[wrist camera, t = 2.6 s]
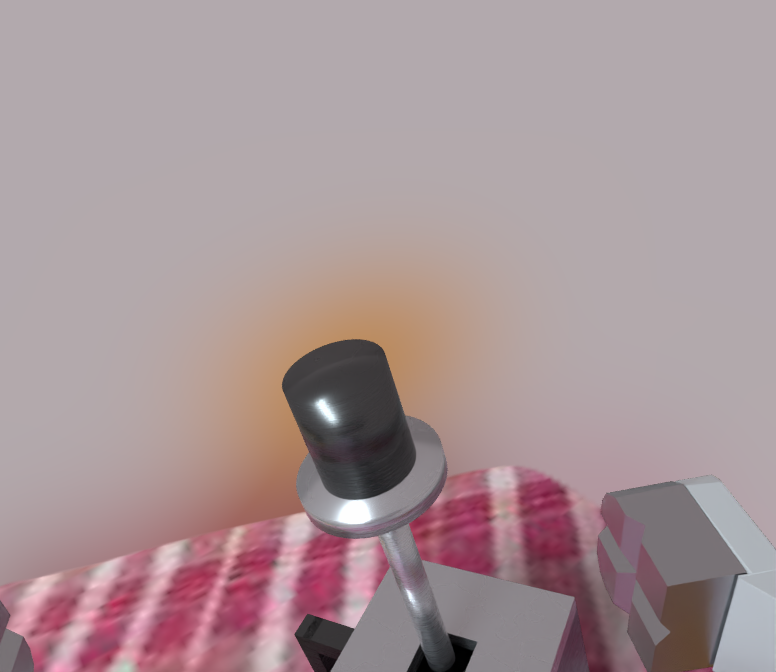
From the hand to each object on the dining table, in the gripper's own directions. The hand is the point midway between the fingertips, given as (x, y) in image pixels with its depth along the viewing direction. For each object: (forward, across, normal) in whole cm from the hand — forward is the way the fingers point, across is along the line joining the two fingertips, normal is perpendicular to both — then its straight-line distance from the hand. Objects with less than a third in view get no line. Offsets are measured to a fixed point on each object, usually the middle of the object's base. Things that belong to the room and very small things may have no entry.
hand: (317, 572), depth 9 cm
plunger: (+11, +3, -20) cm, 23 cm away
